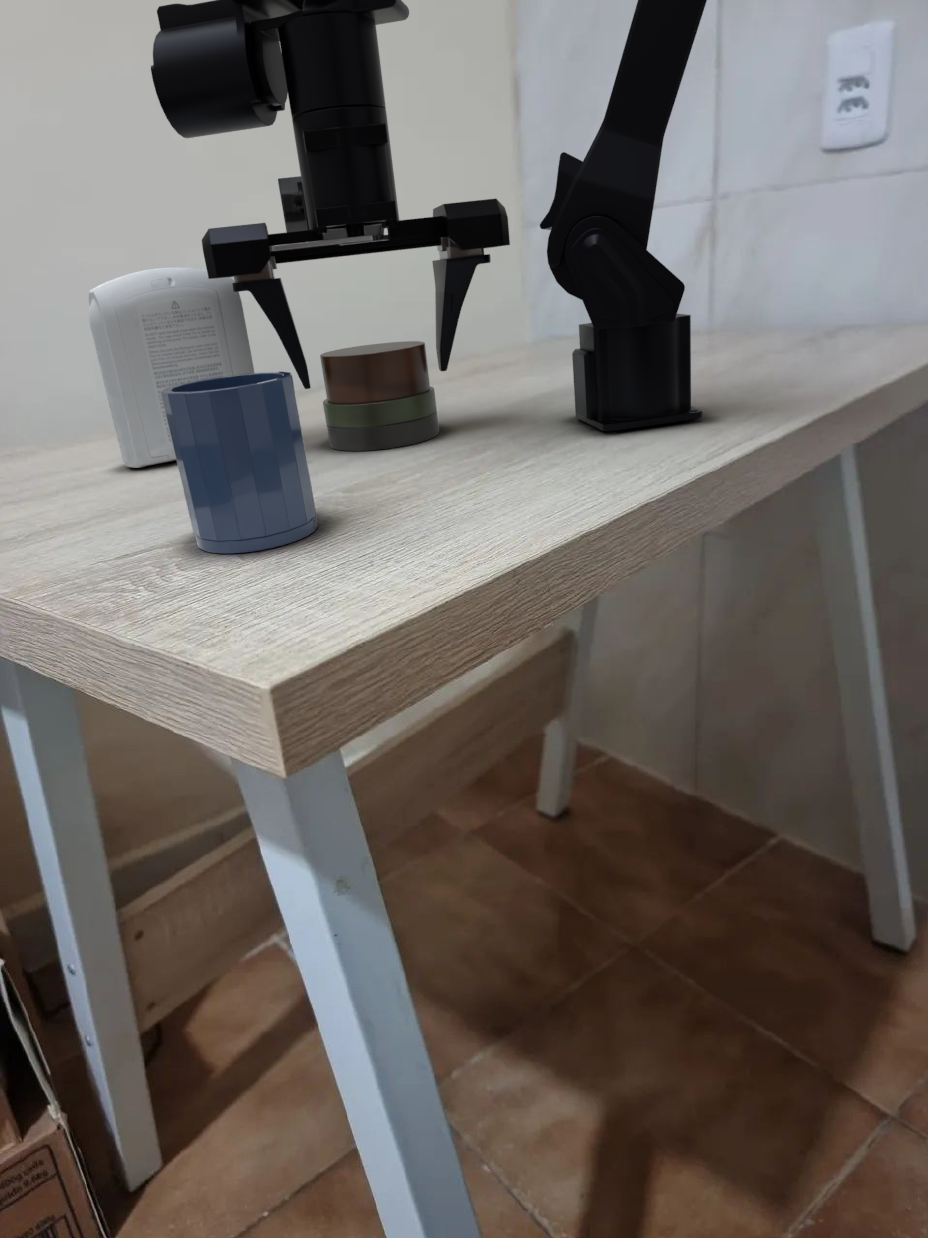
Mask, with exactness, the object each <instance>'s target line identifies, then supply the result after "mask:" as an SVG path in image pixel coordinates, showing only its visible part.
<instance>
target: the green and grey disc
mask: <svg viewBox="0 0 928 1238" xmlns="http://www.w3.org/2000/svg"><path fill="white" fill-rule="evenodd" d="M436 400H437V399H436V392H435V388H434V386H431V385H430V389H429V390H428V391H426V392H424V393H421V394H418V395H414V396H410V397H405V398H400V399H394V400H387V401H380V402H371V403H359V404H335V403H330V402H328V401H327V398H325V399H324V400H323V401H322V406H323V414H324V419H325V424H326V431H327V437H328V444H329V447H330V448H331V449H334V450H338V451H346V452H365V451H368V452H369V451H378V450H379V451H381V450H388V449H395V448H400V447H406V446H412V445H414V444H419V443H422V442H425V441H428V440H430V439H433V438H435V437H437V436H439V433H440V427H439V425H440V424H439V419H438V418H439V417H438V411H437V410H438V409H437V401H436Z"/></svg>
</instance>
